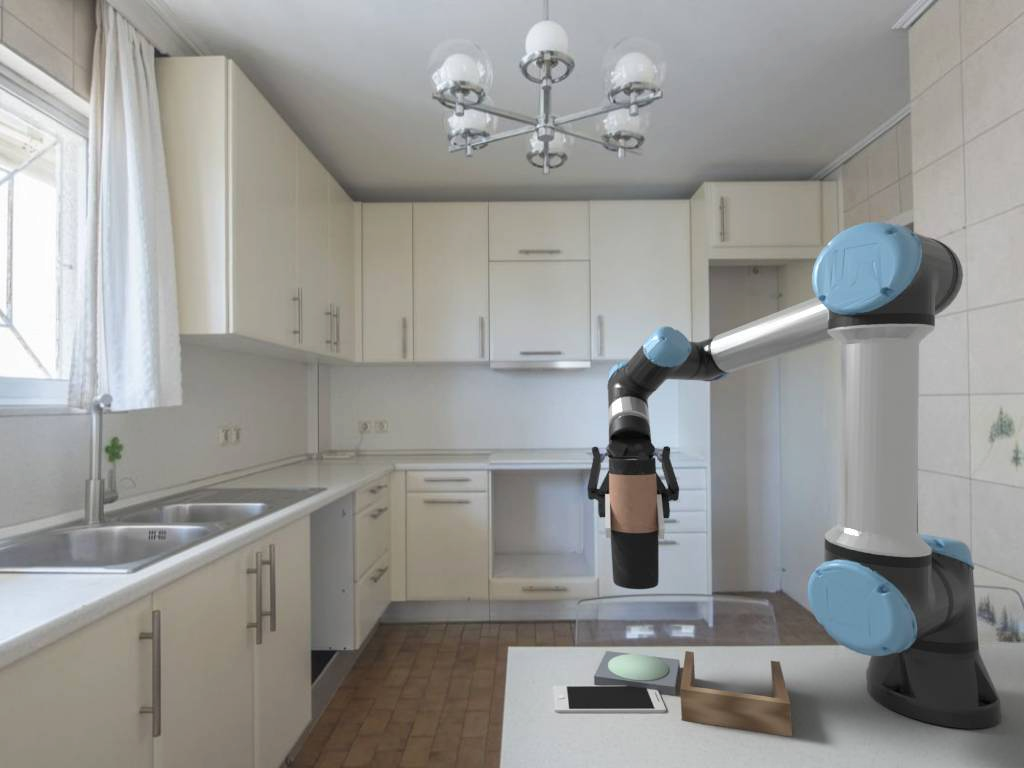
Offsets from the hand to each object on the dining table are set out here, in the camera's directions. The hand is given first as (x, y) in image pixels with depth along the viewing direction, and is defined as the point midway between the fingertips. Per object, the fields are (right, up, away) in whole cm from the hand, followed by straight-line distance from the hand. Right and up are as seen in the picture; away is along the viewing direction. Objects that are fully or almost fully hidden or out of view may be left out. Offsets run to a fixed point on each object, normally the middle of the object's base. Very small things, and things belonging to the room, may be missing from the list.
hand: (634, 533), depth 87 cm
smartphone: (-5, -23, -6) cm, 25 cm away
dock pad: (+1, -23, +2) cm, 23 cm away
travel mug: (+1, -9, +3) cm, 9 cm away
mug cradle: (+12, -22, -8) cm, 26 cm away
